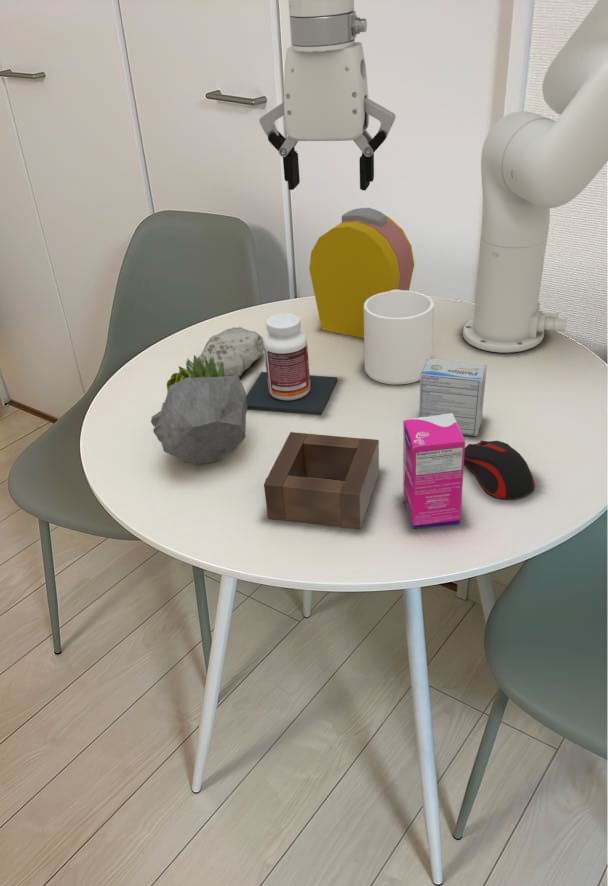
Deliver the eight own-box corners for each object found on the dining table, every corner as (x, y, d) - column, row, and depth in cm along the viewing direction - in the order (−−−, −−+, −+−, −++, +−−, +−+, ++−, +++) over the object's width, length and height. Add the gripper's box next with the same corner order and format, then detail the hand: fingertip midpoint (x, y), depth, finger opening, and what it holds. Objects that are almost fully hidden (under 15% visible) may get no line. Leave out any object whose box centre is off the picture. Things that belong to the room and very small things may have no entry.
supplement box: (401, 499, 90) (402, 417, 83) (449, 494, 90) (455, 411, 83) (410, 530, 86) (412, 445, 78) (461, 524, 86) (469, 440, 78)
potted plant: (143, 464, 94) (124, 382, 102) (224, 489, 102) (201, 412, 110) (198, 399, 87) (173, 317, 95) (279, 431, 96) (250, 354, 104)
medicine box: (482, 420, 102) (488, 362, 96) (477, 438, 99) (482, 379, 93) (424, 414, 104) (427, 356, 99) (417, 430, 101) (419, 372, 96)
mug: (434, 383, 111) (437, 317, 104) (366, 386, 111) (364, 321, 105) (425, 344, 120) (428, 281, 113) (363, 348, 121) (361, 285, 114)
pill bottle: (319, 392, 110) (314, 321, 103) (283, 406, 107) (276, 334, 100) (296, 377, 114) (290, 307, 107) (261, 390, 111) (252, 319, 104)
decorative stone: (202, 349, 124) (197, 321, 121) (267, 347, 123) (264, 318, 120) (189, 386, 115) (184, 356, 112) (259, 384, 114) (256, 354, 111)
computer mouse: (495, 445, 97) (498, 418, 95) (544, 491, 89) (549, 463, 87) (452, 457, 96) (454, 430, 93) (497, 505, 88) (501, 477, 85)
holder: (378, 473, 95) (378, 439, 91) (360, 529, 86) (359, 494, 83) (293, 464, 97) (290, 431, 94) (267, 518, 89) (263, 484, 86)
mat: (337, 380, 113) (337, 377, 113) (321, 415, 106) (321, 411, 106) (262, 375, 116) (261, 371, 116) (241, 408, 109) (240, 404, 109)
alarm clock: (414, 323, 126) (417, 209, 114) (392, 343, 121) (393, 226, 109) (336, 309, 133) (332, 199, 121) (313, 328, 128) (305, 215, 116)
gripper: (401, 24, 89) (399, 179, 100) (262, 30, 93) (275, 178, 104) (389, 34, 83) (388, 196, 95) (242, 40, 88) (258, 195, 99)
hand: (329, 187), depth 99 cm, fingers open, 9 cm apart
